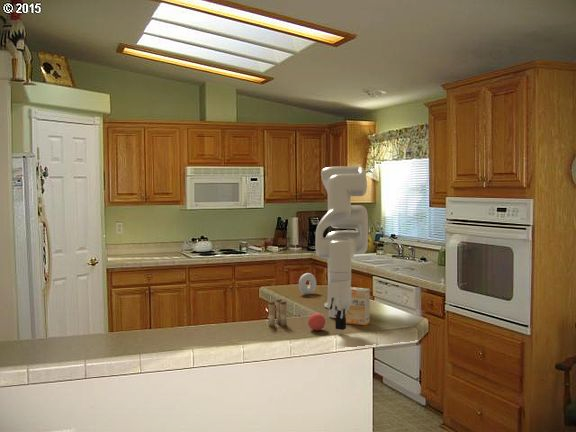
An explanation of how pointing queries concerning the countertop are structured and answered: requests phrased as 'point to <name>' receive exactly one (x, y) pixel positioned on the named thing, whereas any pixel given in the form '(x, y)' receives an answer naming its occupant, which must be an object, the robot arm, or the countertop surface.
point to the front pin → (283, 313)
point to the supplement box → (359, 307)
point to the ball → (316, 321)
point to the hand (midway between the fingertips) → (340, 328)
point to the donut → (303, 283)
